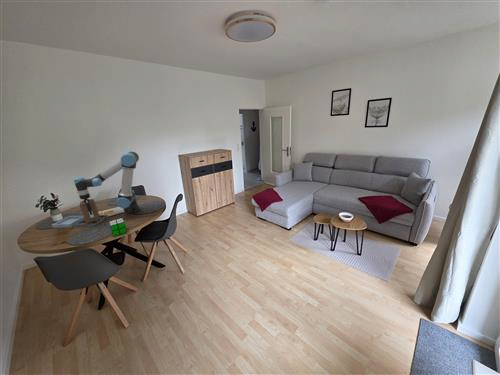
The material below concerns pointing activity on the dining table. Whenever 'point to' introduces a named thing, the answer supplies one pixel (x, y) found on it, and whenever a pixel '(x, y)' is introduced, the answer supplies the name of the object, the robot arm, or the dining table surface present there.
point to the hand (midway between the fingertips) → (91, 215)
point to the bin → (68, 222)
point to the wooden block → (86, 213)
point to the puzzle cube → (118, 227)
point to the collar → (92, 223)
